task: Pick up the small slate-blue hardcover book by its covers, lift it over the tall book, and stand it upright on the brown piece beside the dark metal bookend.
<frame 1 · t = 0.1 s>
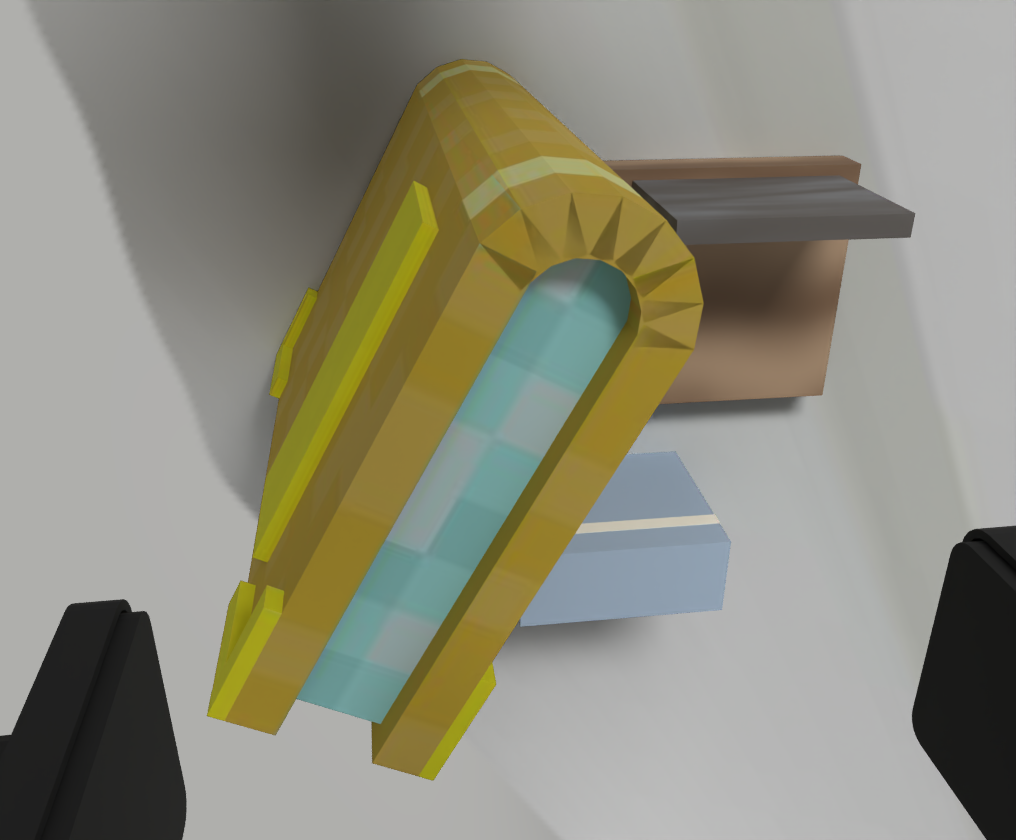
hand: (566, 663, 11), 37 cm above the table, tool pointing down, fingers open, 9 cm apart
brown piece: (711, 277, 49), on the table
book: (413, 232, 46), on the table
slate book: (585, 488, 54), on the table
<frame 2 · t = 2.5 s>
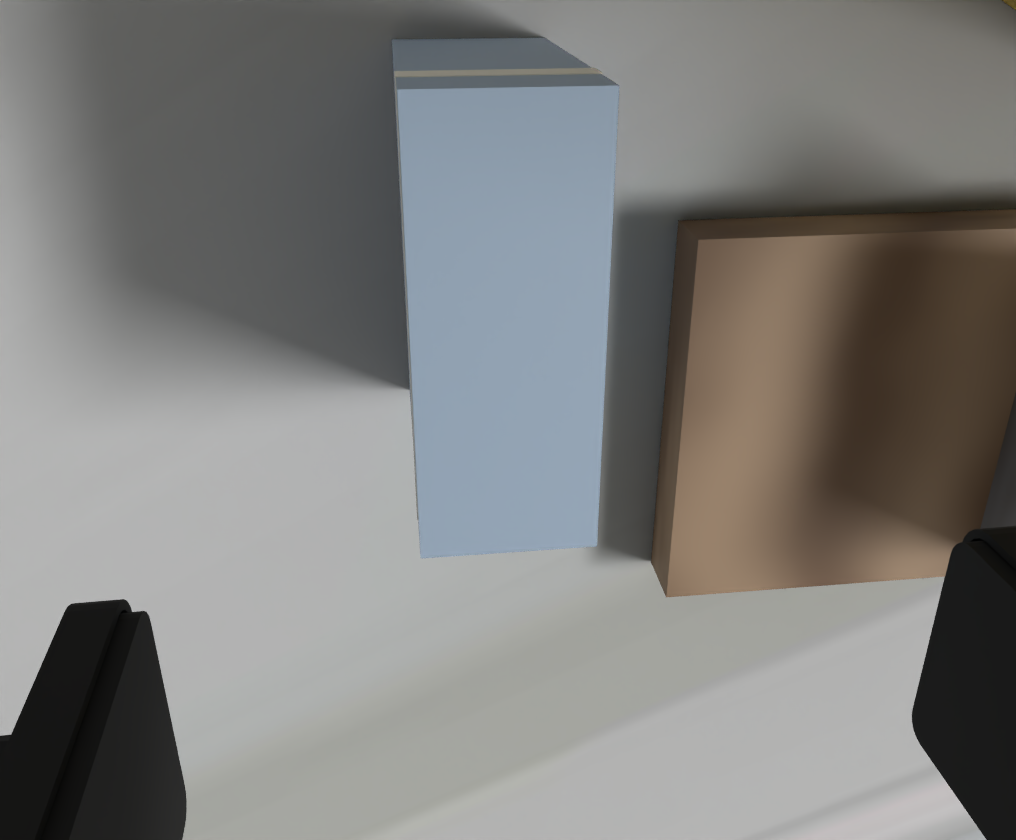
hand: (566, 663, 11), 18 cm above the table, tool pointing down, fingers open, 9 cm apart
brown piece: (843, 396, 31), on the table
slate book: (472, 226, 28), on the table
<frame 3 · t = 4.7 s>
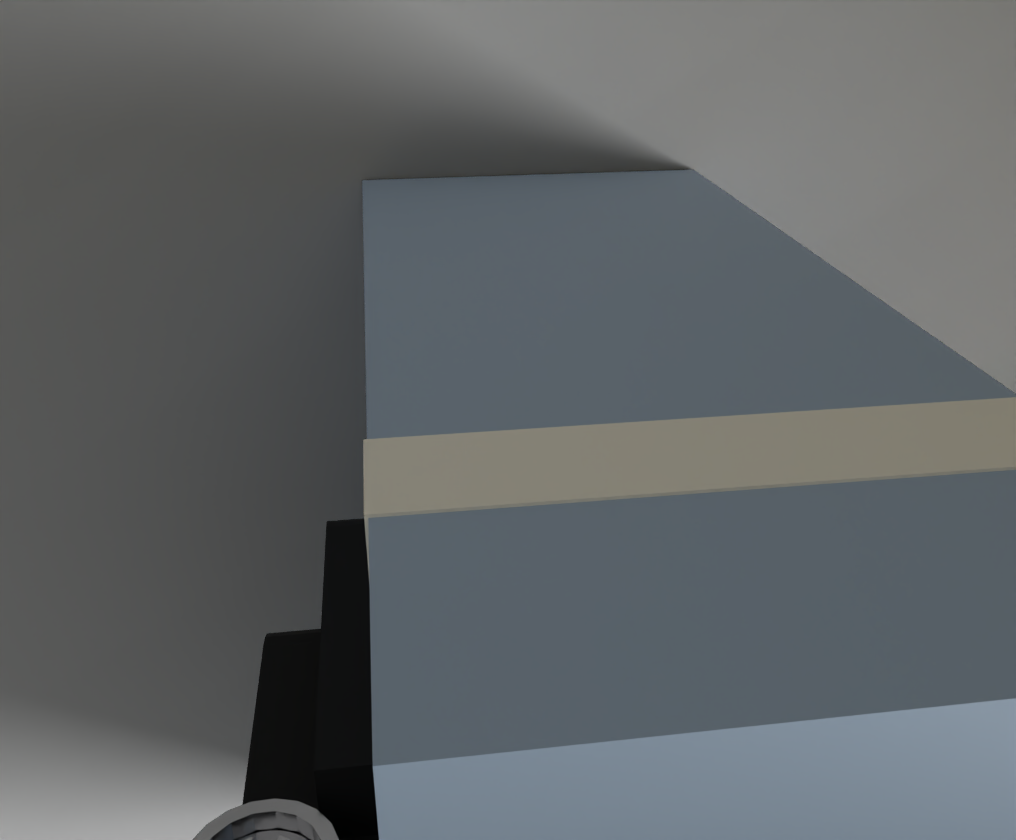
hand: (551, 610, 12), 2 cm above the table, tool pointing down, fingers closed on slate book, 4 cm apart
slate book: (528, 528, 14), on the table, touching gripper
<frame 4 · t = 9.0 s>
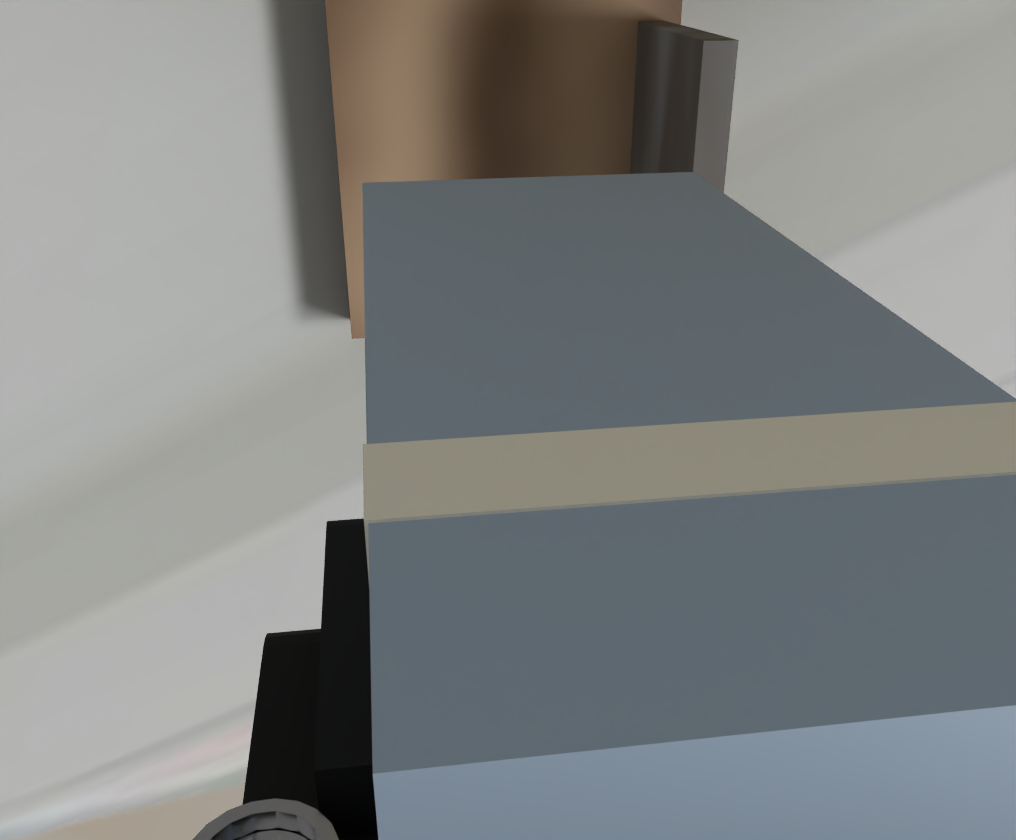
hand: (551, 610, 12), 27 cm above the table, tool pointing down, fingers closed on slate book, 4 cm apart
brown piece: (500, 162, 36), on the table
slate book: (527, 530, 14), point 25 cm above the table, touching gripper
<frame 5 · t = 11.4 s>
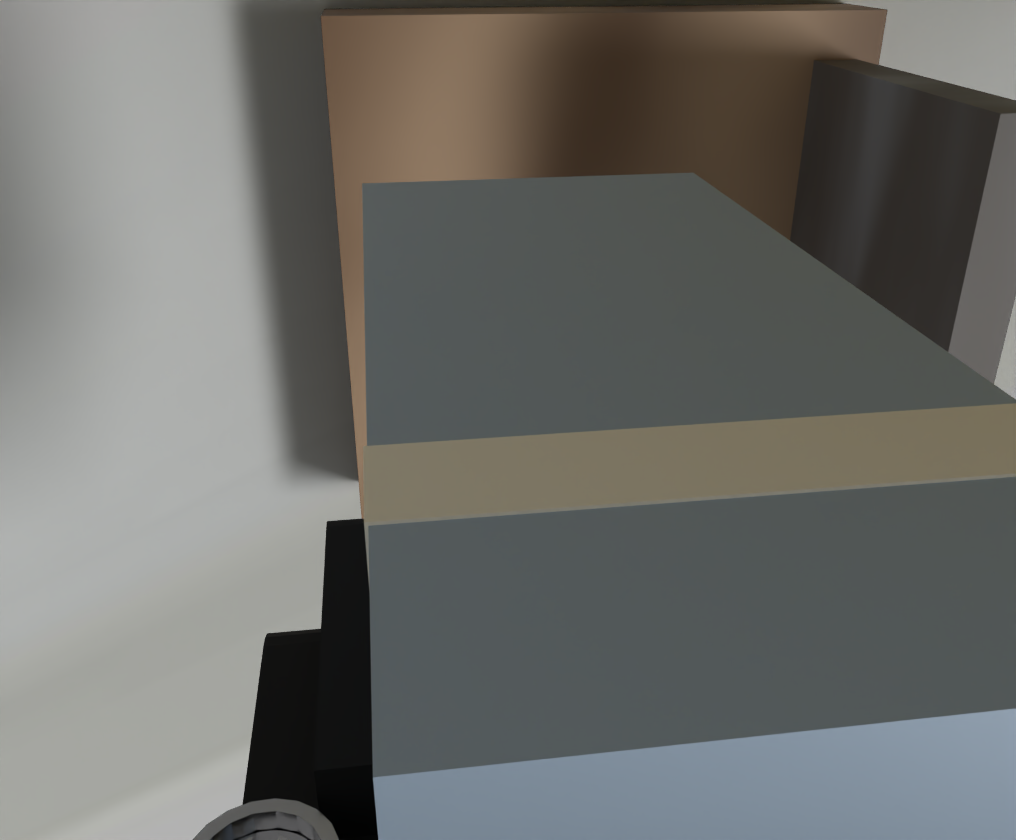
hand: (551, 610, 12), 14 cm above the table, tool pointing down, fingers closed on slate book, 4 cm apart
brown piece: (584, 262, 25), on the table
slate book: (527, 531, 14), point 12 cm above the table, touching gripper
when the fingers open (5 cm above the table, at t = 13.4 s): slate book drops 1 cm, resting on brown piece.
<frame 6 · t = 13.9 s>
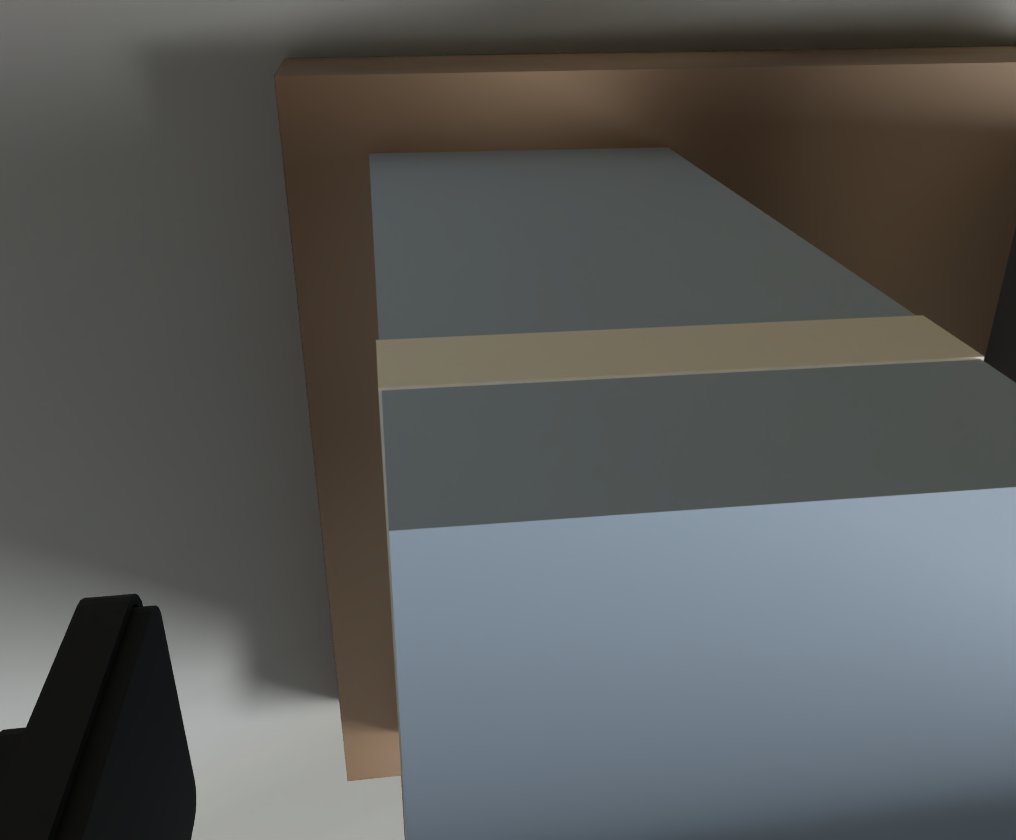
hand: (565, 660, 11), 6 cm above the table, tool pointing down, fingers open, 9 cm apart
brown piece: (664, 411, 17), on the table
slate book: (517, 478, 15), point 2 cm above the table, touching brown piece
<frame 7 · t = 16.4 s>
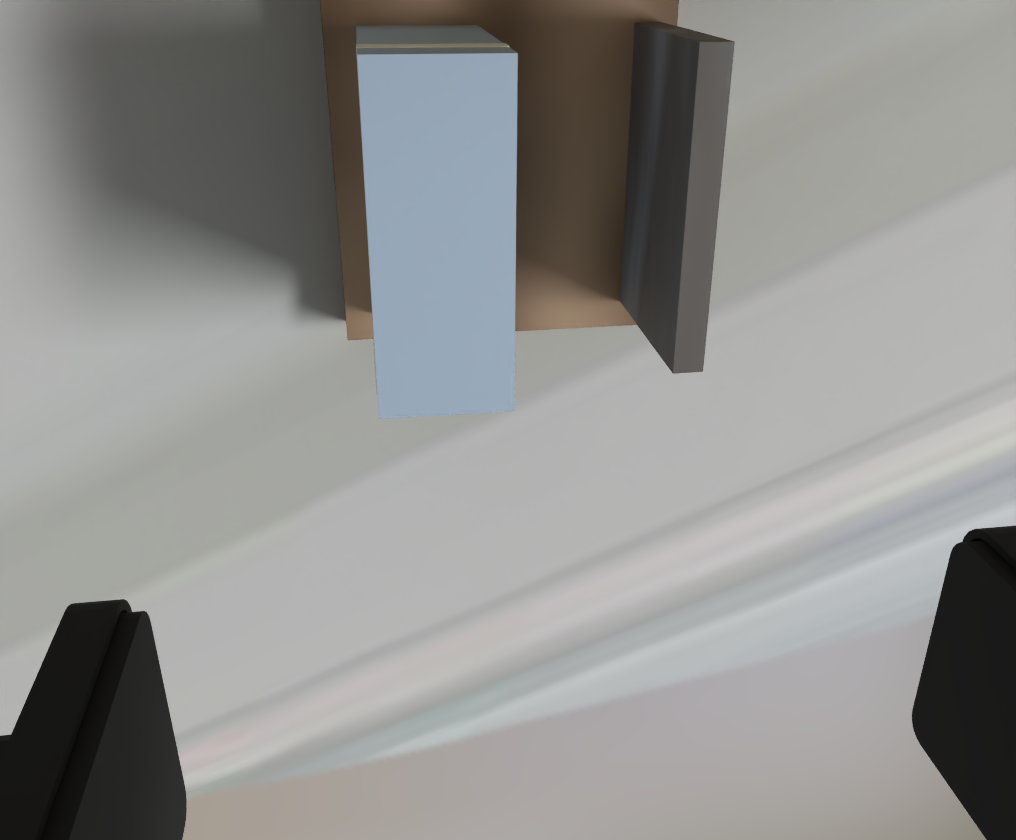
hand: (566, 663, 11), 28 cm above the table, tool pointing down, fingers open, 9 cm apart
brown piece: (497, 163, 36), on the table
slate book: (422, 177, 34), point 2 cm above the table, touching brown piece
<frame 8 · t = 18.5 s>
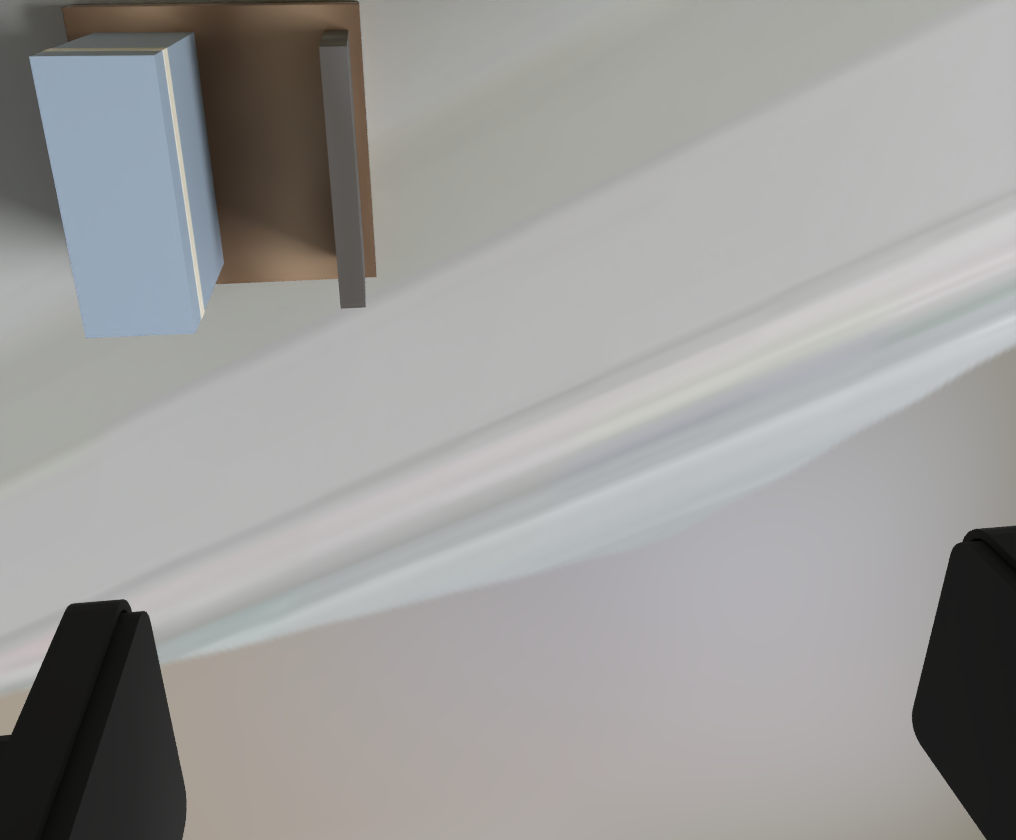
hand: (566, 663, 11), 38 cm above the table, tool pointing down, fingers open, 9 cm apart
brown piece: (236, 144, 45), on the table
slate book: (162, 154, 42), point 2 cm above the table, touching brown piece
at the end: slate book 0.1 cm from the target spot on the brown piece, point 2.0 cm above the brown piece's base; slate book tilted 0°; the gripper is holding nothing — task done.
